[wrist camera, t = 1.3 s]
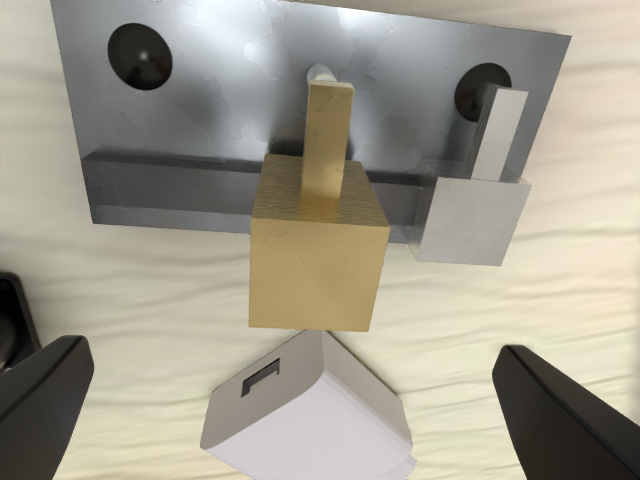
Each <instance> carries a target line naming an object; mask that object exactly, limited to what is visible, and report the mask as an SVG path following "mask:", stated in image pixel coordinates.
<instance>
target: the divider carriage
mask: <svg viewBox="0 0 640 480" xmlns="http://www.w3.org/2000/svg"><path fill="white" fill-rule="evenodd" d="M307 82H308V87H309V91H308V103H307V115H306V126H305V138H304V150H303V157H301V156H289V155H277V154H265V155H264V160H263V165H262V169H261V174H260V179H259V184H258V188H257V193H256V198H255V203H254V207H253V212H252V217H251V251H250V294H249V327H257V328H281V329H306V330H330V331H355V332H368V331H369V326H370V321H371V317H372V312H373V307H374V302H375V298H376V293H377V288H378V284H379V279H380V274H381V270H382V265H383V260H384V255H385V251H386V246H387V241H388V237H389V232H390V225H389V223H388V221H387V219H386V217H385V214H384V212H383V210H382V208H381V205H380V203H379V201H378V199H377V197H376V194H375V192H374V190H373V188H372V186H371V183H370V181H369V179H368V177H367V175H366V172H365V170H364V168H363V166H362V164H361V162H360V161H348V160H345V154H346V147H347V140H348V133H349V125H350V118H351V111H352V104H353V96H354V89H355V88H354V87H353V86H352V85H351V84H350V83H344V82H337V80H336V79H335V77H334V76H333V74H332V73H331V71H330V69H329V68H328V67H327V66H325V65H323V64H316V65H313V66H312V67H311V68H310V69H309V71H308V73H307Z"/></svg>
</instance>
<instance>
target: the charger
mask: <svg viewBox="0 0 640 480" xmlns="http://www.w3.org/2000/svg"><path fill="white" fill-rule="evenodd" d="M279 357H280V360H278V361H276V362H275V363H273V364H272V365H270V366H269V367H267V368H266V369H264V370H262V371H261V372H259V373H258V374H256V375H255V376H253V377H252V378H250V379H248V380H247V381H245V382H244V383H243V381H244V380H245V379H247V378H248V377H250V376H252V375H253V374H255V373H256V372H258V371H259V370H261V369H262V368H264V367H265V366H267V365H269V364H270V363H272V362H273V361H275V360H276V359H278V358H279ZM200 447H201V448H202V449H203V450H205V451H206V452H208V453H210V454H211V455H213V456H215V457H216V458H218V459H220V460H221V461H223V462H225V463H226V464H228V465H230V466H231V467H233V468H235V469H236V470H238V471H240V472H241V473H243V474H245V475H246V476H248V477H250V478H251V479H253V480H407V479H406V478H407V477H408V476H409V475H410V473H411V472H412V471H413V469H414V468H415V465H416V462H417V460H416V459H415V458H413V457H412V456H411V455H410V452H411V450H412V448H413V443H412V439H411V435H410V432H409V428H408V424H407V421H406V417H405V414H404V410H403V406H402V403H401V400H400V399H399V398H398V397H397V396H396V395H395V394H394V393H393V392H391V391H390V390H389V389H388V388H387V387H386V386H385V385H384V384H383V383H382V382H381V381H380V380H378V379H377V378H376V377H375V376H374V375H373V374H372V373H371V372H370V371H369V370H368V369H367V368H365V367H364V366H363V365H362V364H361V363H360V362H359V361H358V360H357V359H356V358H355V357H353V356H352V355H351V354H350V353H349V352H348V351H347V350H346V349H345V348H344V347H343V346H342V345H340V344H339V343H338V342H337V341H336V340H335V339H334V338H333V337H332V336H331V335H330V334H329V333H327V332H326V331H325V330H304V331H303V332H301V333H299V334H298V335H296V336H295V337H293V338H292V339H290V340H289V341H287V342H286V343H284V344H283V345H281V346H280V347H278V348H277V349H275V350H274V351H272V352H270V353H269V354H267V355H266V356H264V357H263V358H261V359H260V360H258V361H257V362H255V363H254V364H252V365H251V366H249V367H248V368H246V369H245V370H243V371H242V372H240V373H238V374H237V375H235V376H234V377H232V378H231V379H229V380H228V381H226V382H225V383H223V384H222V385H220V386H219V387H218V388H217V389H216V390H215V391H214V392H213V394H212V395H211V397H210V400H209V404H208V409H207V413H206V418H205V423H204V427H203V432H202V436H201V441H200Z"/></svg>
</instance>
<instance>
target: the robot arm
mask: <svg viewBox="0 0 640 480" xmlns="http://www.w3.org/2000/svg"><path fill="white" fill-rule="evenodd" d="M4 282H5V283H7V284H8V285H7V284H5V283H4ZM8 368H11V369H10V370H8V371H6V370H7V369H8ZM93 373H94V362H93V358H92V354H91V351H90V347H89V343H88V340H87V338H86V337H85V336H82V335H64V336H61V337H60V338H58V339H56V340H55V341H53V342H52V343H50V344H48V345H47V346H45V347H44V348H42V349H41V350H40V347H39V344H38V341H37V337H36V334H35V331H34V328H33V325H32V322H31V318H30V315H29V312H28V309H27V306H26V303H25V299H24V296H23V293H22V290H21V287H20V284H19V281H18V279H17V278H16V277H14V276H12V275H10V274H2V273H0V480H52V479H53V477H54V475H55V473H56V471H57V468H58V466H59V464H60V462H61V460H62V458H63V456H64V453H65V451H66V449H67V447H68V444H69V441H70V439H71V436H72V433H73V431H74V428H75V425H76V422H77V419H78V416H79V414H80V411H81V408H82V405H83V402H84V399H85V397H86V394H87V391H88V388H89V385H90V382H91V380H92V377H93ZM492 378H493V383H494V386H495V389H496V393H497V396H498V399H499V402H500V405H501V409H502V412H503V415H504V418H505V422H506V425H507V428H508V431H509V435H510V438H511V440H512V443H513V446H514V449H515V451H516V454H517V456H518V459H519V461H520V464H521V466H522V468H523V471H524V473H525V475H526V478H527V480H640V426H638V425H637V424H635V423H634V422H633V421H631V420H630V419H628V418H627V417H625V416H624V415H623V414H621V413H620V412H618V411H617V410H615V409H614V408H613V407H611V406H610V405H608V404H607V403H605V402H604V401H603V400H601V399H600V398H598V397H597V396H595V395H594V394H593V393H591V392H590V391H588V390H587V389H585V388H584V387H583V386H581V385H580V384H578V383H577V382H575V381H574V380H572V379H571V378H570V377H568V376H567V375H565V374H564V373H562V372H561V371H560V370H558V369H557V368H555V367H554V366H552V365H551V364H550V363H548V362H547V361H545V360H544V359H542V358H541V357H540V356H538V355H537V354H535V353H534V352H532V351H531V350H530V349H528V348H527V347H525V346H523V345H504V346H503V347H502V348H501V351H500V353H499V356H498V358H497V360H496V363H495V365H494V368H493V372H492Z"/></svg>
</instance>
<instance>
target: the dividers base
mask: <svg viewBox="0 0 640 480" xmlns="http://www.w3.org/2000/svg"><path fill="white" fill-rule="evenodd" d="M50 2H51V7H52V12H53V18H54V23H55V28H56V33H57V39H58V44H59V49H60V54H61V60H62V65H63V70H64V75H65V80H66V86H67V91H68V96H69V101H70V107H71V112H72V117H73V122H74V128H75V133H76V138H77V143H78V149H79V154H80V159H81V165H82V170H83V175H84V181H85V186H86V191H87V196H88V201H89V206H90V211H91V217H92V222H93V224H107V225H123V226H139V227H154V228H170V229H186V230H201V231H217V232H233V233H248V234H251V217H252V212H253V207H254V203H255V198H256V193H257V188H258V184H259V179H260V174H261V169H262V165H263V160H264V155H265V154H277V155H289V156H301V157H303V150H304V138H305V126H306V115H307V103H308V91H309V87H308V82H307V73H308V71H309V69H310V68H311V67H312V66H313V65H316V64H323V65H325V66H327V67H328V68H329V69H330V71H331V73H332V74H333V76H334V77H335V79H336V80H337V82H344V83H350V84H351V85H352V86H353V87H354V88H355V89H354V96H353V104H352V111H351V118H350V125H349V133H348V140H347V147H346V154H345V160H348V161H360V162H361V164H362V166H363V168H364V170H365V172H366V175H367V177H368V179H369V181H370V183H371V186H372V188H373V190H374V192H375V194H376V197H377V199H378V201H379V203H380V205H381V208H382V210H383V212H384V214H385V217H386V219H387V221H388V223H389V225H390V232H389V237H388V241H387V242H389V243H405V244H408V245H409V247H410V249H411V251H412V253H413V255H414V257H415V259H416V261H421V262H438V263H455V264H472V265H489V266H501V264H502V261H503V259H504V256H505V254H506V251H507V248H508V246H509V243H510V240H511V238H512V235H513V233H514V230H515V227H516V225H517V222H518V220H519V217H520V214H521V212H522V209H523V207H524V204H525V201H526V199H527V196H528V193H529V191H530V188H531V186H532V185H531V184H530V183H529V182H527V181H526V180H524V179H523V178H522V177H521V175H522V172H523V169H524V166H525V164H526V161H527V158H528V155H529V153H530V150H531V147H532V144H533V142H534V139H535V136H536V133H537V131H538V128H539V125H540V122H541V120H542V117H543V114H544V111H545V109H546V106H547V103H548V100H549V98H550V95H551V92H552V90H553V87H554V84H555V81H556V79H557V76H558V73H559V70H560V68H561V65H562V62H563V59H564V57H565V54H566V51H567V48H568V46H569V43H570V40H571V37H572V36H569V35H561V34H553V33H545V32H537V31H528V30H520V29H512V28H504V27H496V26H487V25H479V24H471V23H463V22H455V21H446V20H438V19H430V18H422V17H414V16H406V15H397V14H389V13H381V12H373V11H365V10H356V9H348V8H340V7H332V6H324V5H315V4H307V3H299V2H291V1H283V0H50Z"/></svg>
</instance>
